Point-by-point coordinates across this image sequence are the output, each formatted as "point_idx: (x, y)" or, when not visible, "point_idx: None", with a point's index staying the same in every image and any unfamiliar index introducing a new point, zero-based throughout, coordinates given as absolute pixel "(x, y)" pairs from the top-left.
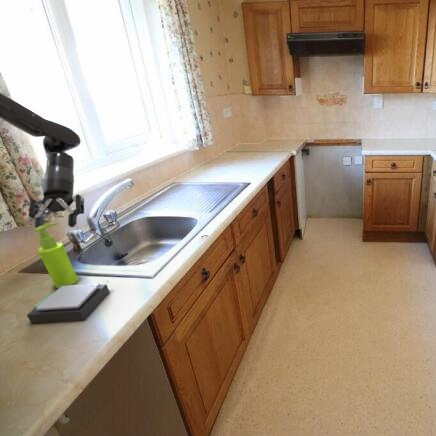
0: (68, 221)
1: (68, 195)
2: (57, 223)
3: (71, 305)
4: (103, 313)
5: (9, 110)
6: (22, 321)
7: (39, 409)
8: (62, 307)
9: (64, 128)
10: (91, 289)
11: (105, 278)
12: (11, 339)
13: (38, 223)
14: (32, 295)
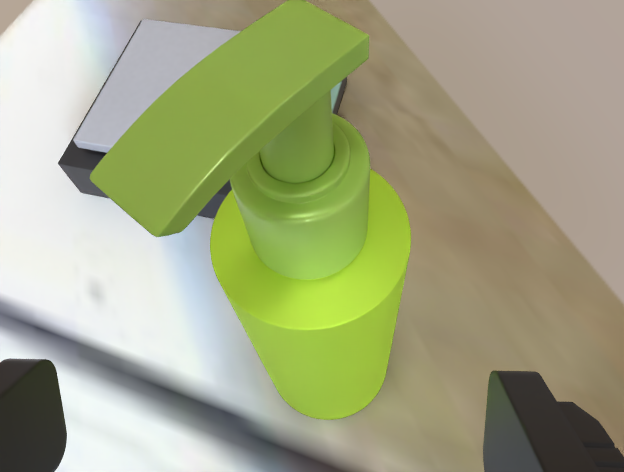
0: (4, 386)
1: None
2: (95, 167)
3: (166, 25)
4: (95, 72)
5: None
6: (392, 102)
7: None
8: (201, 28)
9: None
10: (105, 104)
11: (113, 331)
12: (373, 27)
13: (545, 430)
14: (471, 283)
